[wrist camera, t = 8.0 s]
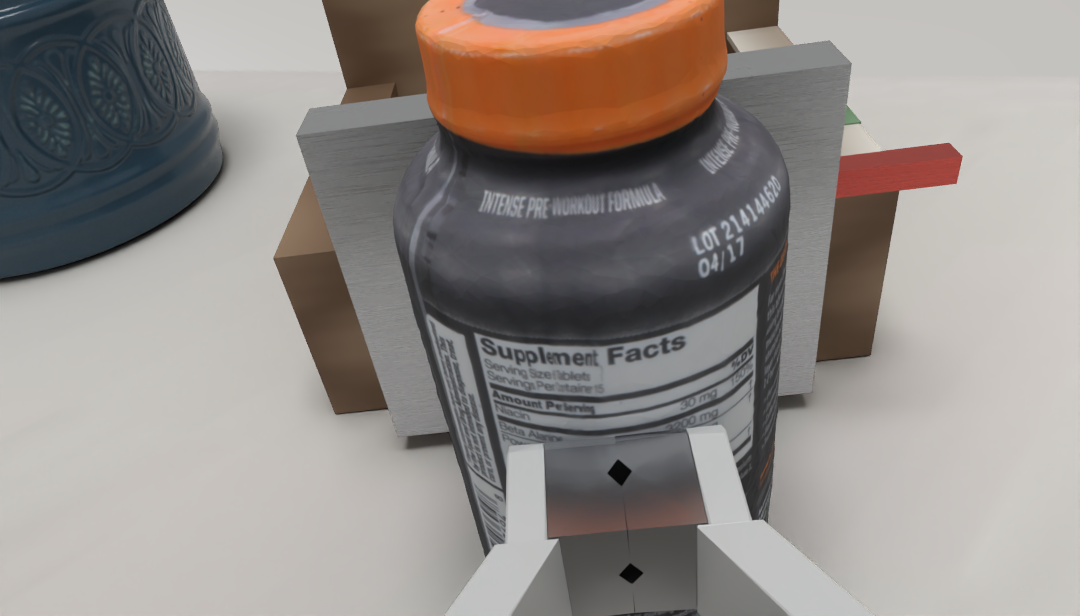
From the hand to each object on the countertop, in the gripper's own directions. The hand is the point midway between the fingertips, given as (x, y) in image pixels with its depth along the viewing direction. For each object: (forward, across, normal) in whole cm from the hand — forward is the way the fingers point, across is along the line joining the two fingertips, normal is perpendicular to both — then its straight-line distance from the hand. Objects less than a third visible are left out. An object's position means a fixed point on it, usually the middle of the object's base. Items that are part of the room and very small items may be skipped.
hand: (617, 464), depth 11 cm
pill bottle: (+3, 0, +6) cm, 6 cm away
